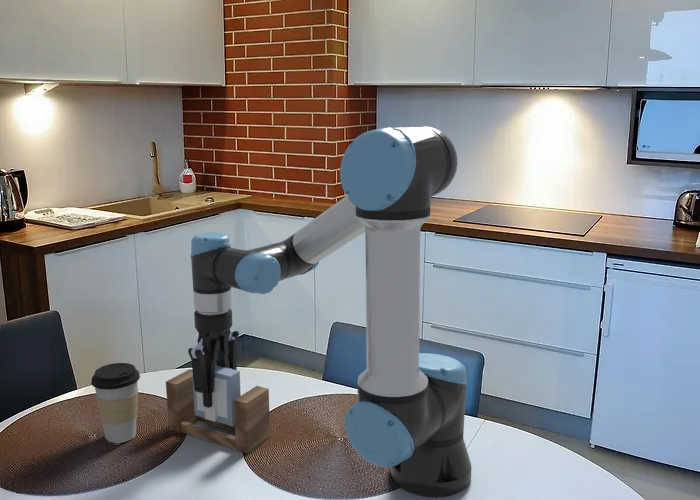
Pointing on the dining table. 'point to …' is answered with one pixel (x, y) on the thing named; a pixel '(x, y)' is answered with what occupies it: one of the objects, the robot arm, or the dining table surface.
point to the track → (248, 422)
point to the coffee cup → (117, 400)
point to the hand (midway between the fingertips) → (217, 415)
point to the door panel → (222, 395)
